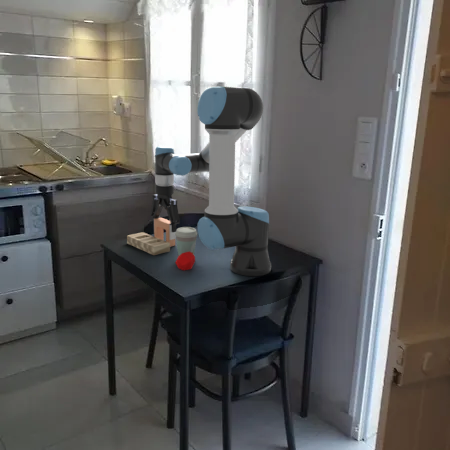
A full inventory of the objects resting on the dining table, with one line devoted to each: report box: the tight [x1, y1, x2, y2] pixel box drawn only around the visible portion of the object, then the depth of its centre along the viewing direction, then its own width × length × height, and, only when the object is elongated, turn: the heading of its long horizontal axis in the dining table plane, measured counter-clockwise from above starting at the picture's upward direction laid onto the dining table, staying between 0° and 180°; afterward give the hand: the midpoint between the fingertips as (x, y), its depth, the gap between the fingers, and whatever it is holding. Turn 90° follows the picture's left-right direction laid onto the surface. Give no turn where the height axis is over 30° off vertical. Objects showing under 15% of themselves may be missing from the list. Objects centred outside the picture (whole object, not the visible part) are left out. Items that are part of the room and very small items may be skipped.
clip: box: [153, 217, 176, 248], centre depth 204 cm, size 10×4×10 cm, turn 44°
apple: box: [175, 252, 196, 271], centre depth 177 cm, size 7×7×8 cm
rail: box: [126, 231, 171, 256], centre depth 199 cm, size 19×8×4 cm, turn 44°
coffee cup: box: [175, 226, 199, 257], centre depth 185 cm, size 8×8×12 cm
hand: (164, 236), depth 204 cm, fingers closed on clip, 10 cm apart
